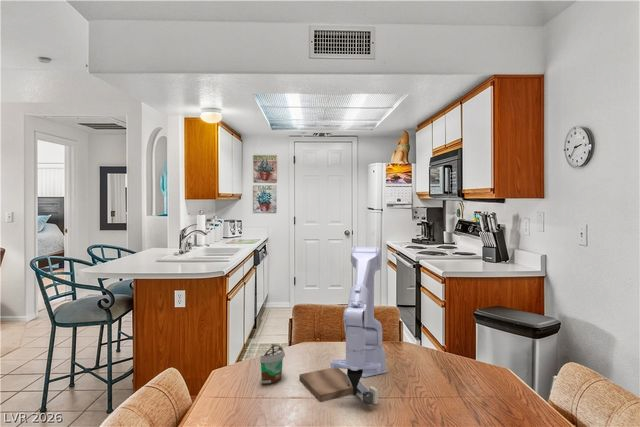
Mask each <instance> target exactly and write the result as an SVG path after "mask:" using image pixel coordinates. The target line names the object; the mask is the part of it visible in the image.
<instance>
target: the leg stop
mask: <svg viewBox="0 0 640 427" xmlns="http://www.w3.org/2000/svg"><path fill="white" fill-rule="evenodd" d="M368 391H369V392H372V393H373V403H372V404H374V405H378V404H379V389H377V388H376V387H375V386H373V385H372V386H369V389H368Z"/></svg>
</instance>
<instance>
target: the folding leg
mask: <svg viewBox="0 0 640 427" xmlns="http://www.w3.org/2000/svg"><path fill="white" fill-rule="evenodd" d="M347 385H349V386H350V387H351V388H352V389H353V387H352V384H351V381H350V379H349V377H348V375H347ZM356 396H358V397H359V398H360V400H361V401H362V403H363V404H365V405H372V404H373V393H372V392H369V389H368V388H366V387H365V385H364V384H362V382H361V381H360V380H359V383H358V386H357V395H356Z"/></svg>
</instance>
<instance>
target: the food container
mask: <svg viewBox="0 0 640 427" xmlns="http://www.w3.org/2000/svg"><path fill="white" fill-rule="evenodd" d="M285 357H286V353H285V350H284V348H283V346H281V345H280V344H276V343H271V347H270V348H268V350H266V351H265V353H264V354H263V355H260V358H259V359H260V360H259V363H260V372H261V373H260V374H261V386H271V385H276V384H278V383H280V382H281V381H282V379H283V378H282V377H283V376H282V375H283V374H282V373H283V361H284V360H283V359H284V358H285Z"/></svg>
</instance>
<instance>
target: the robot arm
mask: <svg viewBox="0 0 640 427" xmlns="http://www.w3.org/2000/svg"><path fill="white" fill-rule="evenodd" d="M350 263H351V265H352V267H353V268H354V269H355V273H354V274H355V276H354V277H355V278H354V285H352V286H351V288H350V290H349V295H348V296H349V297H348V301H347V308H346V307H345V308H344V310H343V319H342V320H343V325H344V326H343V327H344V333H345V359H331V360H330V368H331V369H334V368H339V369H340V370H341V369H343V370H346V374H347V375H348V377H349V379H350V381H351V384H352V387H353V394H352V395H353V396H358V395H357V386H358V383H359V381H360V380H361V379H362V378H369V377H372V376H377V375H381V374H384V373H387V370H386V350H385V348H384V346H383V345H382V344H383V327H382V323H381V322H380V321H379V320H378V319H376V318H375V276H376V272H377V271H379V270H380V271H381V267H382V248H381V247H380V246H377V247H375V246H371V247H370V246H356V245H355V246H354V245H353V246H352V247H351V250H350Z"/></svg>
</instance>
